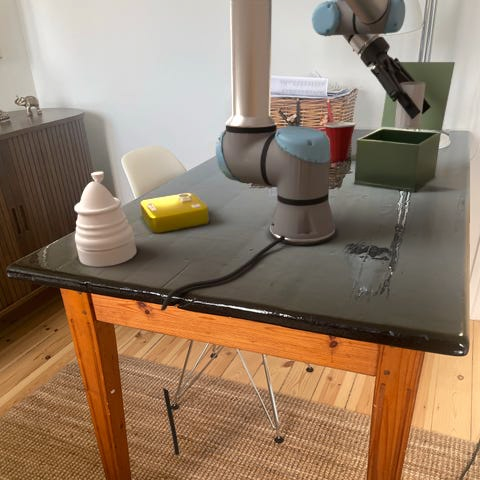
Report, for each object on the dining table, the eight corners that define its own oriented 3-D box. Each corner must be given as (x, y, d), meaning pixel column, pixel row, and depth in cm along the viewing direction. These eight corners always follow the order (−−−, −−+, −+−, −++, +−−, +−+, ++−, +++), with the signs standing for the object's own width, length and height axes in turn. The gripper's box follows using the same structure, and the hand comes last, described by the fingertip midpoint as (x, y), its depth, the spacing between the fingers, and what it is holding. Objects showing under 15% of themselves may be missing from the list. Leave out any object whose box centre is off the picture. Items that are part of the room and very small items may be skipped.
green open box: (413, 192, 141) (419, 145, 135) (354, 183, 151) (356, 139, 144) (434, 177, 152) (441, 132, 146) (377, 170, 162) (381, 128, 155)
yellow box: (141, 216, 137) (138, 199, 135) (194, 206, 141) (192, 189, 139) (153, 234, 125) (150, 216, 123) (211, 223, 129) (209, 205, 127)
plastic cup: (352, 154, 180) (354, 118, 174) (355, 162, 171) (358, 125, 165) (321, 155, 182) (322, 120, 175) (323, 163, 172) (324, 126, 166)
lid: (454, 62, 138) (455, 62, 139) (390, 61, 148) (391, 62, 149) (440, 130, 145) (441, 130, 146) (380, 126, 155) (381, 126, 156)
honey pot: (101, 241, 123) (85, 166, 114) (147, 246, 119) (134, 168, 110) (67, 263, 113) (47, 183, 104) (116, 269, 109) (99, 186, 100)
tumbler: (413, 129, 138) (418, 85, 132) (390, 127, 142) (394, 84, 136) (424, 125, 142) (429, 81, 136) (401, 123, 146) (406, 81, 140)
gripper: (375, 53, 148) (423, 116, 148) (344, 61, 135) (396, 129, 135) (395, 32, 142) (445, 97, 142) (364, 37, 129) (418, 109, 129)
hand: (421, 112), depth 138 cm, fingers closed on tumbler, 7 cm apart
